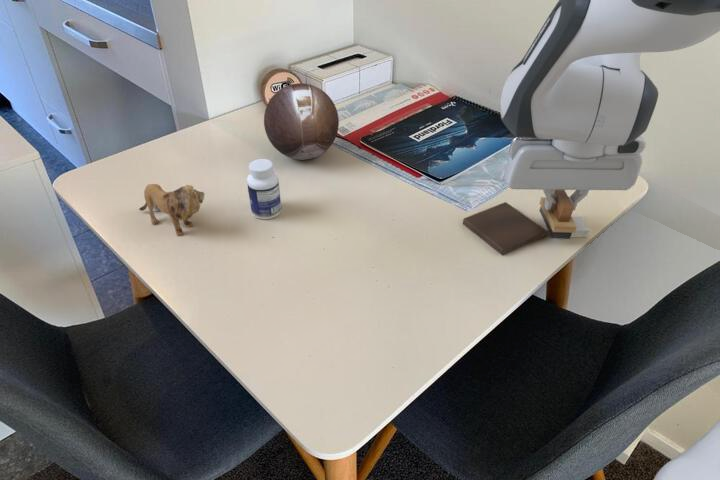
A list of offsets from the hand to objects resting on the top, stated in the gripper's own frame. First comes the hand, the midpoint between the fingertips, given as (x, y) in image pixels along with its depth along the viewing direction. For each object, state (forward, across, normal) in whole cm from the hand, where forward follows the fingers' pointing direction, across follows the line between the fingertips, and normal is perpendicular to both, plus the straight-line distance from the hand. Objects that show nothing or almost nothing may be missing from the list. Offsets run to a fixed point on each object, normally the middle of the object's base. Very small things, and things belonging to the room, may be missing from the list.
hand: (559, 208), depth 87 cm
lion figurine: (+5, -66, +2) cm, 66 cm away
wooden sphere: (+5, -45, +26) cm, 52 cm away
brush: (+3, 0, 0) cm, 3 cm away
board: (+5, -8, 0) cm, 10 cm away
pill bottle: (+5, -50, +5) cm, 51 cm away
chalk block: (+5, +3, 0) cm, 6 cm away
